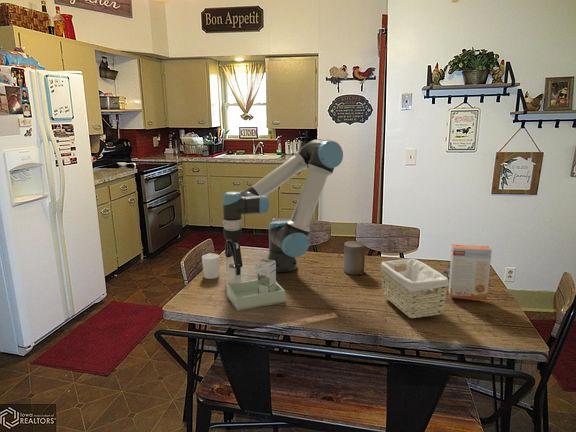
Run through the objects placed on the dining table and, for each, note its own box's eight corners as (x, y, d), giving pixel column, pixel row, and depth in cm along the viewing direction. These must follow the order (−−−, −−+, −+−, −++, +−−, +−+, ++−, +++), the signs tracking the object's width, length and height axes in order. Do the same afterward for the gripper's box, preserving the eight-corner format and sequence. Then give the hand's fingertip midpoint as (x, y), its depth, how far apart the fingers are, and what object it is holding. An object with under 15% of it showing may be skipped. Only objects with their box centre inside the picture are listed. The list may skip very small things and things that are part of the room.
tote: (271, 288, 176) (271, 277, 175) (285, 302, 162) (285, 290, 161) (226, 295, 169) (226, 284, 168) (237, 311, 155) (236, 298, 154)
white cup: (216, 280, 186) (215, 259, 183) (200, 279, 187) (198, 258, 185) (222, 274, 193) (221, 254, 191) (206, 273, 195) (205, 253, 192)
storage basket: (448, 316, 150) (451, 278, 147) (408, 321, 146) (410, 282, 143) (413, 291, 173) (415, 257, 169) (377, 295, 169) (379, 261, 166)
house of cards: (468, 282, 181) (470, 266, 180) (452, 285, 179) (454, 268, 177) (453, 276, 190) (455, 260, 188) (438, 278, 187) (439, 262, 185)
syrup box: (276, 293, 169) (276, 260, 165) (269, 299, 163) (269, 264, 160) (264, 291, 171) (263, 258, 168) (257, 296, 166) (256, 262, 163)
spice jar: (238, 283, 182) (238, 262, 180) (242, 287, 178) (241, 266, 176) (227, 284, 180) (227, 264, 178) (230, 289, 176) (229, 267, 174)
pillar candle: (367, 270, 197) (368, 240, 194) (359, 276, 189) (360, 245, 186) (348, 266, 202) (349, 237, 199) (340, 272, 194) (340, 242, 191)
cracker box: (484, 294, 168) (489, 245, 164) (487, 300, 163) (492, 250, 158) (447, 291, 172) (451, 243, 167) (449, 297, 166) (453, 247, 161)
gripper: (217, 223, 183) (218, 268, 188) (231, 236, 161) (232, 287, 165) (233, 221, 186) (234, 266, 191) (250, 235, 164) (250, 285, 168)
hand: (233, 276), depth 178 cm, fingers open, 13 cm apart
